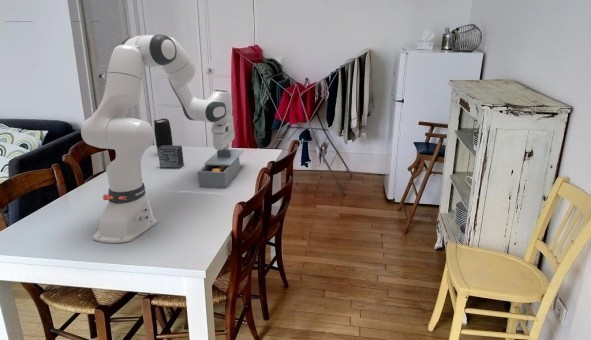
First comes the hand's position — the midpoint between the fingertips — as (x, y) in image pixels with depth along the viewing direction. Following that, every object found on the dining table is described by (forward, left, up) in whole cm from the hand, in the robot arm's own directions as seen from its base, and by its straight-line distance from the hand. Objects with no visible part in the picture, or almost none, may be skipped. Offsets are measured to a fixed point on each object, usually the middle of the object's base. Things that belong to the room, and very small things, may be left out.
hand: (225, 153), depth 195 cm
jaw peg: (-15, 0, -9) cm, 17 cm away
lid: (-2, 0, -2) cm, 2 cm away
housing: (-10, 0, -10) cm, 14 cm away
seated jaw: (-5, 0, -9) cm, 10 cm away
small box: (+6, +31, -10) cm, 33 cm away
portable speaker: (+24, +43, -10) cm, 50 cm away
